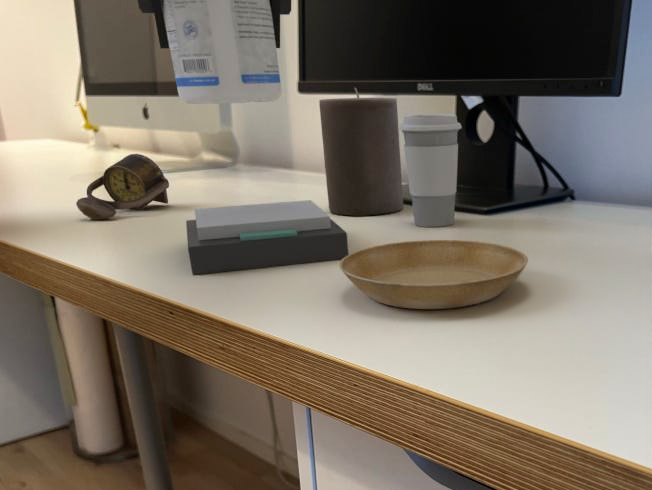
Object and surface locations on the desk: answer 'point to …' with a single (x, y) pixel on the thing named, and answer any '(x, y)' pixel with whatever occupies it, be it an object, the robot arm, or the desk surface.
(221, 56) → the supplement tub
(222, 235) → the scale
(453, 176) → the cup
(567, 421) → the desk surface
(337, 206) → the pillar candle
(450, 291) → the plant saucer
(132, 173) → the antique desk clock
